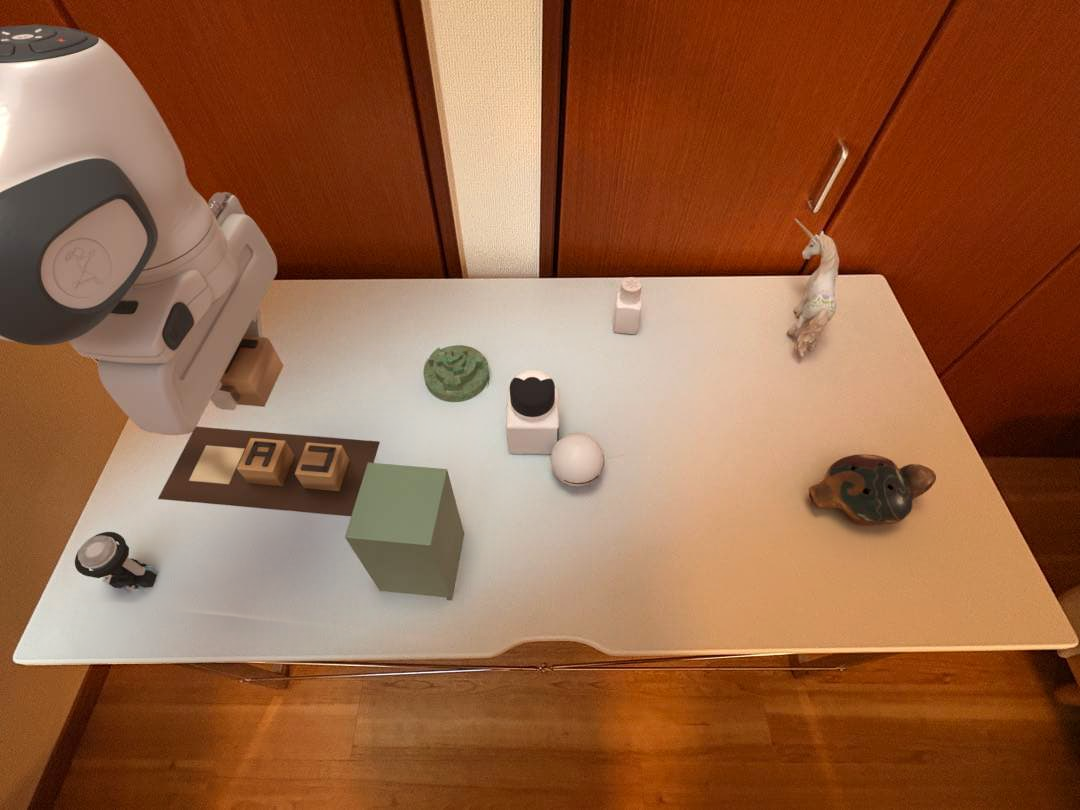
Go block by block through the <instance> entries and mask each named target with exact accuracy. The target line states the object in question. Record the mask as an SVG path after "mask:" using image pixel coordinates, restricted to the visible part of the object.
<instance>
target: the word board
mask: <svg viewBox="0 0 1080 810" xmlns="http://www.w3.org/2000/svg"><path fill="white" fill-rule="evenodd" d="M250 438H258V439H270V440H283V441H286V443H287V444H288V446H289V447H290V449H291V450H292V452H293V454H294V455H295V456H294V459H293V462H292V464H291V467H290V469H289V472H288V474H287V477H286V479H285V482H284V485H283V486H275V485H264V484H252V483H248V482H247V481H246V480H245V478H244V477H243V476H242V475H241V473H240V472H239V471H238V470H237V467H238V465H239V463H240V460H241V458H242V456H243V454H244V452H245V449H246V447H247V445H248V443H249V441H250ZM306 443H320V444H332V445H342V447H343V449H344V451H345V453H346V455H347V457H348V458H349V463H348V466H347V469H346V472H345V475H344V478H343V481H342V484H341V487H340V490H339V491H331V490H320V489H309V488H304V487H303V486H302V484H301V483H300V481H299V480H298V478H297V477H296V475H295V472H296V469H297V466H298V464H299V461H300V459H301V456H302V453H303V451H304V448H305V446H306ZM380 443H381V441H378V440H367V439H366V440H365V439H353V438H342V437H341V438H340V437H329V436H317V435H316V436H315V435H303V434H293V433H280V432H269V431H268V432H267V431H257V430H243V429H233V428H232V429H231V428H217V427H207V426H196V428H195V429H194V431H193V432H191V433H190V436H189V438H188V440H187V442H186V444H185V445H184V447H183V450H182V452H181V453H180V455H179V456H178V459H177V461H176V463H175V465H174V467H173V469H172V470H171V473H169V474H170V475H169V476H168V478H167V481H166V483H165V484H164V486H163V487H162V490H161V492H160V494H159V496H158V498H157V500H164V501H174V502H175V501H177V502H186V503H198V504H207V505H208V504H209V505H218V506H219V505H220V506H230V507H241V508H253V509H263V510H264V509H265V510H275V511H286V512H287V511H288V512H297V513H307V514H319V515H328V516H329V515H331V516H339V517H340V516H342V517H351V516H352V513H353V509H354V506H355V503H356V500H357V496H358V493H359V490H360V487H361V483H362V480H363V477H364V474H365V470H366V467H367V464H368V463H375V460H376V456H377V453H378V449H379V446H380Z"/></svg>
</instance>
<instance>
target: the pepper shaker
mask: <svg viewBox="0 0 1080 810" xmlns="http://www.w3.org/2000/svg"><path fill="white" fill-rule="evenodd" d="M642 288H643V284H642V281H641V280H640V279H639V278H637V277H634V276H629V277H625V278H623V279H622V281H621V283H620V290H619V291H618V292H617V293H616V301H615V309H614V317H613V326H612V327H613V332H614V333H617V334H626V335H636V334H637V333H638V328H639V324H640V318H641V312H642V306H643V295H642Z"/></svg>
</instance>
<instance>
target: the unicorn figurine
mask: <svg viewBox="0 0 1080 810" xmlns="http://www.w3.org/2000/svg"><path fill="white" fill-rule="evenodd" d="M794 221H795V223H796V224H797V226H798V227H799V228H800V229H801V230H802V231H803V233H805V235H806V236H807V238H808V239H809V240H810V241H809V242H808V245H806V246H805V247H804V250H803V251H801V254H802V258H803V259H804V260H810V259H811V257H813V256H816V255H817V256H818V255H820V262H819V266H818V268H817V269H815V271H814V272H813V273H811V275H810V276H809V277H808V279H807V281H806V289H805V292H804V293H805V294H804V295H803V296H802V299H801V302H800V304H799V305H798V306H797V307H795V308H794V309H793V313H794V314H796V318H798V321H797V323H794V324H792V326H791V327H790V328H789V329H788V331H787V333H786V335H790V336H792V337H795V336H796V333H797V332H798V331H799V330H801V329H802V328H803V327H804V324H805V322H807V321H808V320H810V321H809V322H808V325H807V326H806V327H805V328H803V329H802V330H801V332H800V334H799V335H798V337H797V339H796V342H795V343H794V345H793V349H794V351H795V350H797V352H798V356H800V357H802V358H803V357H804V356H805V354H804V353H805V352H806V351H807V350H809V351H813V350H814V349H815V348H816V346H815V345H816V344H817V343H816V342H817V340H818V339H819V337H820V336H821V334H822V333H823V331H824V330H825V328H826V326H827V323H829V322H830V321H831V320H832V318H833V317H834V316H835V314H836V309H837V302H836V299H835V297H836V290H835V287H836V279H837V278H838V277H839V266H840V257H839V253H838V249H837V245H836V244H835V242H834V239H833V238H832V237H830V236H828V235H826V234H825V233H824V230H821V231H820V233H819V234H813V233H812V232H811V231H810V230H808V228H806V226H804V225H803V224H802V222H801V221H799V220H798V219H797V218H794Z"/></svg>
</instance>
